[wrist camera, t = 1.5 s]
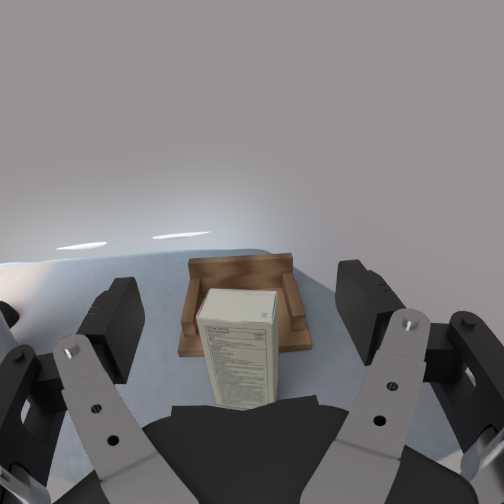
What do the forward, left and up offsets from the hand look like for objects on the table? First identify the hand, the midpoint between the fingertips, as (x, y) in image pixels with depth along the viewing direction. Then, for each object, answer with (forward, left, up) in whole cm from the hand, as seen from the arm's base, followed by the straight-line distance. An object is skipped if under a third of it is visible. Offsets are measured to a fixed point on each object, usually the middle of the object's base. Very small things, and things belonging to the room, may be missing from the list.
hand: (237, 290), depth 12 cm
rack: (0, +24, -20) cm, 31 cm away
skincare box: (0, +11, -21) cm, 23 cm away
